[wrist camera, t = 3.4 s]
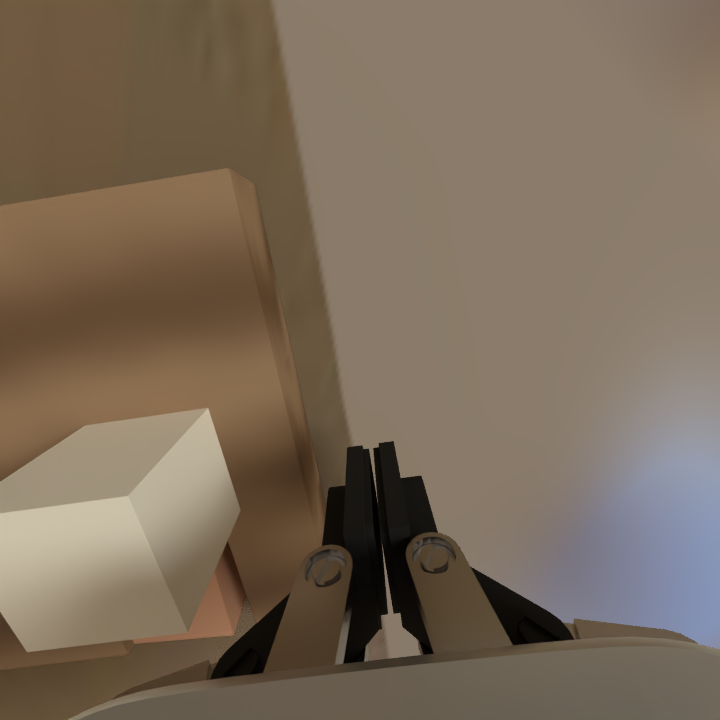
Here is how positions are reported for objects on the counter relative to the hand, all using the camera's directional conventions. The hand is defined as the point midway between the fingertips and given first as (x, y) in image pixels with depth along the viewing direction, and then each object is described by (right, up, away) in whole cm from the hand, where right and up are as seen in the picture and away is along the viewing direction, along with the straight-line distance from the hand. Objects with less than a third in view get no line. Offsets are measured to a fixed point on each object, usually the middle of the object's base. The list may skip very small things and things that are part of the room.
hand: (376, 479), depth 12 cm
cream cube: (-9, 0, +2) cm, 9 cm away
